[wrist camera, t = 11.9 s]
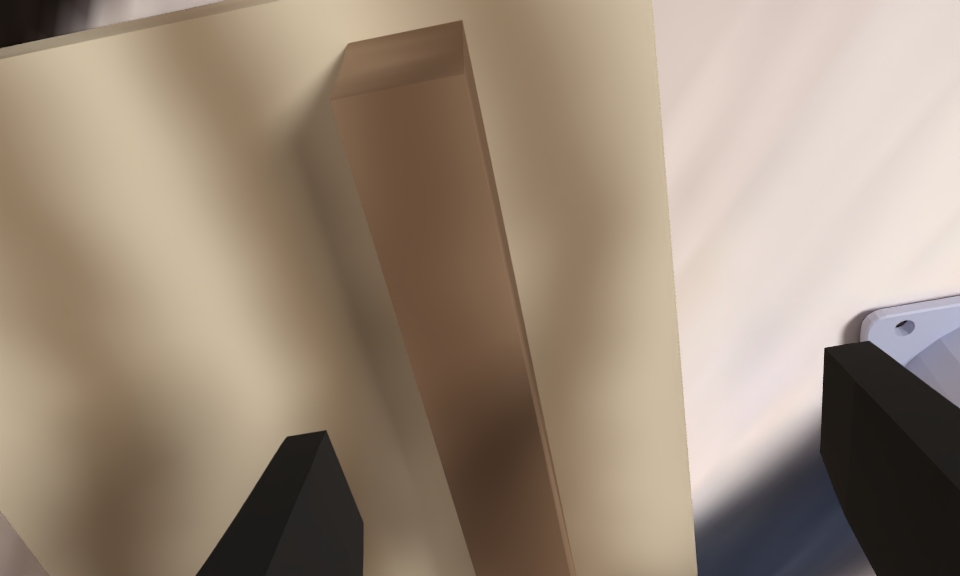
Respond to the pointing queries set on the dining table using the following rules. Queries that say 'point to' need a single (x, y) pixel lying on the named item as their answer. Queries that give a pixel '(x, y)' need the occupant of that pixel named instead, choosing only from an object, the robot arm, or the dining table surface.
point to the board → (319, 283)
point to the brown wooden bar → (454, 288)
